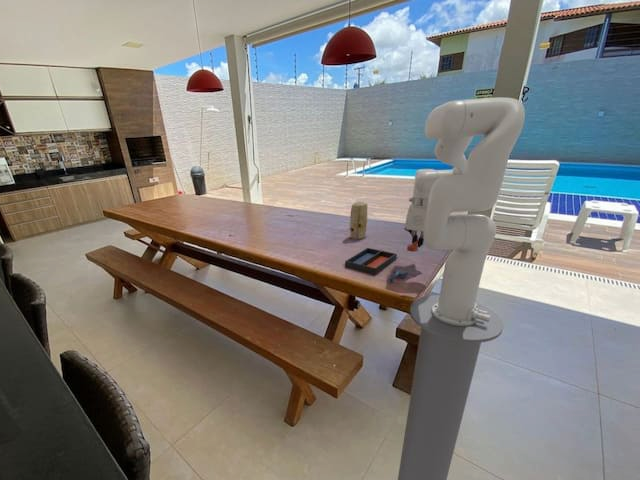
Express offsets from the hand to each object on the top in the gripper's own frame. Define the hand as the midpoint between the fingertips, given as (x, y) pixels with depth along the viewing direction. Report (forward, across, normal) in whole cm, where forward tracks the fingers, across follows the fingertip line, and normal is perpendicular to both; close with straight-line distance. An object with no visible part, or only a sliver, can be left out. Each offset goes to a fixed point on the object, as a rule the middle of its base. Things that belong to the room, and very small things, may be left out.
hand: (417, 245), depth 128 cm
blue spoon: (+9, 0, -18) cm, 20 cm away
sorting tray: (+8, -15, -10) cm, 20 cm away
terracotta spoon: (0, 0, -2) cm, 2 cm away
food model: (+8, -36, +16) cm, 41 cm away
